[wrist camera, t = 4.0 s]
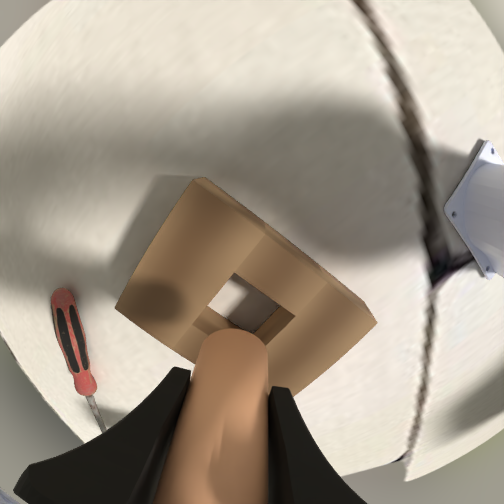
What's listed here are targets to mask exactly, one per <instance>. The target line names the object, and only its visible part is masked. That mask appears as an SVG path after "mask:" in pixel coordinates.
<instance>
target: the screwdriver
mask: <svg viewBox="0 0 504 504" xmlns="http://www.w3.org/2000/svg"><path fill="white" fill-rule="evenodd" d="M51 308H52V316H53V323H54V329H55V334H56V338H57V341H58V343H59V346H60V348H61V350H62V352H63V355H64V357H65V360H66V363H67V366H68V368H69V370H70V372H71V373H72V375H73V378H74V385H75V389H76V391H77V392H78V393H79V394H80V395H83V396H86V398H87V400H88V402H89V405H90V407H91V409H92V411H93V413H94V416H95V418H96V420H97V422H98V424H99V427H100V429H101V431H102V433H104V432H105V431H107V429H106V427H105V425H104V423H103V420H102V418H101V415H100V413H99V411H98V408H97V405H96V402H95V399H94V396H93V394H94V393H95V392H96V390H97V384H96V381H95V380H94V378H93V377H92V375H91V373H90V362H89V358H88V353H87V346H86V337H85V333H84V329H83V326H82V323H81V320H80V317H79V313H78V310H77V307H76V303H75V300H74V297H73V295H72V294H71V292H70V291H69V290H67V289H65V288H58V289H56V290H55V291H54V292H53V294H52V297H51Z"/></svg>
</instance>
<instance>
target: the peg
mask: <svg viewBox="0 0 504 504" xmlns="http://www.w3.org/2000/svg"><path fill="white" fill-rule="evenodd" d="M153 504H268V353H267V349H266V347H265V345H264V344H263V342H262V341H261V340H260V339H259V338H258V337H256V336H255V335H253V334H252V333H249V332H247V331H244V330H240V329H222V330H219V331H216V332H214V333H212V334H210V335H209V336H208V337H207V338H206V339H205V340H204V342H203V343H202V346H201V349H200V352H199V355H198V358H197V361H196V364H195V367H194V370H193V373H192V376H191V380H190V383H189V386H188V389H187V392H186V395H185V399H184V402H183V405H182V408H181V411H180V414H179V417H178V420H177V424H176V427H175V430H174V433H173V437H172V440H171V443H170V446H169V450H168V453H167V456H166V460H165V463H164V466H163V470H162V473H161V476H160V480H159V483H158V486H157V490H156V493H155V497H154V500H153Z"/></svg>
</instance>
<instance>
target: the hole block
mask: <svg viewBox="0 0 504 504" xmlns="http://www.w3.org/2000/svg"><path fill="white" fill-rule="evenodd" d="M233 273H236V274H237V275H238V276H240V277H241V278H243V279H244V280H245V281H247V282H248V283H250V284H251V285H252V286H254V287H255V288H257V289H258V290H259V291H261V292H262V293H264V294H265V295H267V296H268V297H269V298H271V299H272V300H274V301H275V302H276V303H278V304H279V305H281V306H280V307H279V308H278V309H277V310H276V311H275V312H274V313H273V314H272V315H271V316H270V317H269V318H268V319H267V320H266V321H265V322H264V323H263V324H262V325H261V327H260V328H259V329H258V330H257V331H256V332H255V333H254V334H253V335H255V336H256V337H258V338H259V339H260V340H261V341H262V342H263V344H264V345H265V347H266V349H267V353H268V396H269V394H270V391H271V388H272V386H278V387H286V388H289V389H290V391H291V393H292V396H293V397H294V396H295V395H296V394H298V393H299V392H300V391H302V390H303V389H304V388H305V387H307V386H308V385H309V384H310V383H312V382H313V381H314V380H315V379H317V378H318V377H319V376H320V375H321V374H323V373H324V372H325V371H326V370H327V369H329V368H330V367H331V366H332V365H333V364H334V363H336V362H337V361H338V360H339V359H340V358H341V357H342V356H343V355H345V354H346V353H347V352H348V351H349V350H350V349H351V348H352V347H353V346H354V345H355V344H357V343H358V342H359V341H360V340H361V339H362V338H363V337H364V336H365V335H366V334H367V333H368V332H369V331H370V330H371V329H372V328H373V327H374V326H375V325H376V324H377V321H376V320H375V318H374V316H373V315H372V313H371V312H370V310H369V309H368V307H367V305H366V304H365V302H364V301H363V300H362V299H360V298H359V297H358V296H357V295H356V294H354V293H353V292H352V291H351V290H349V289H348V288H347V287H346V286H345V285H343V284H342V283H341V282H340V281H339V280H337V279H336V278H335V277H334V276H332V275H331V274H330V273H329V272H327V271H326V270H325V269H324V268H322V267H321V266H320V265H319V264H318V263H316V262H315V261H314V260H313V259H311V258H310V257H309V256H307V255H306V254H305V253H304V252H302V251H301V250H300V249H299V248H297V247H296V246H295V245H294V244H292V243H291V242H290V241H288V240H287V239H286V238H285V237H283V236H282V235H281V234H280V233H278V232H277V231H276V230H274V229H273V228H272V227H271V226H269V225H268V224H267V223H265V222H264V221H263V220H261V219H260V218H259V217H257V216H256V215H255V214H254V213H252V212H251V211H250V210H248V209H247V208H246V207H244V206H243V205H242V204H240V203H239V202H238V201H236V200H235V199H234V198H232V197H231V196H230V195H228V194H227V193H226V192H224V191H223V190H222V189H220V188H219V187H218V186H216V185H215V184H214V183H212V182H211V181H209V180H208V179H207V178H205V177H202V178H198V179H194V180H192V181H191V183H190V184H189V186H188V187H187V189H186V190H185V191H184V193H183V194H182V196H181V197H180V199H179V200H178V202H177V203H176V205H175V206H174V208H173V209H172V211H171V212H170V214H169V215H168V217H167V218H166V220H165V222H164V223H163V225H162V226H161V228H160V229H159V231H158V233H157V234H156V236H155V237H154V239H153V241H152V242H151V244H150V246H149V247H148V249H147V251H146V252H145V254H144V256H143V257H142V259H141V261H140V262H139V264H138V266H137V268H136V269H135V271H134V273H133V275H132V276H131V278H130V280H129V282H128V284H127V285H126V287H125V289H124V291H123V293H122V295H121V296H120V298H119V300H118V302H117V304H116V306H115V309H116V310H117V311H119V312H120V313H121V314H123V315H124V316H125V317H126V318H128V319H129V320H130V321H132V322H133V323H135V324H136V325H137V326H139V327H140V328H141V329H143V330H144V331H146V332H147V333H148V334H150V335H151V336H153V337H154V338H156V339H157V340H158V341H160V342H161V343H163V344H164V345H166V346H167V347H169V348H170V349H172V350H173V351H175V352H176V353H178V354H180V355H181V356H183V357H184V358H186V359H187V360H189V361H191V362H192V363H194V364H196V361H197V358H198V355H199V352H200V349H201V346H202V343H203V342H204V340H205V339H206V338H207V337H208V336H209V335H210V334H212V333H214V332H216V331H219V330H222V329H240V330H242V329H241V328H239V327H238V326H236V325H235V324H233V323H232V322H230V321H229V320H227V319H226V318H224V317H223V316H221V315H220V314H218V313H217V312H215V311H214V310H212V309H211V308H210V307H208V306H207V305H208V304H209V303H210V302H211V300H212V299H213V298H214V297H215V295H216V294H217V293H218V292H219V291H220V289H221V288H222V287H223V286H224V284H225V283H226V282H227V281H228V279H229V278H230V277H231V276H232V275H233Z"/></svg>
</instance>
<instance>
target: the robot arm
mask: <svg viewBox="0 0 504 504" xmlns="http://www.w3.org/2000/svg"><path fill="white" fill-rule="evenodd" d="M453 212H454V215H453V217H452V213H453ZM444 213H445V215H446V216H447V217H448V219H449V220H450V222H451V223H452V224H453V226H454V227H455V229H456V230H457V232H458V233H459V235H460V236H461V238H462V239H463V241H464V242H465V244H466V245H467V247H468V248H469V250H470V252H471V253H472V255H473V256H474V258H475V260H476V261H477V263H478V265H479V266H480V268H481V270H482V272H483V273H484V275H485V277H486V278H487V279H488V280H490V279H492V278H493V276H494V275H495V273H497V274H499V275H500V276H502V277H503V278H504V164H503V162H502V160H501V158H500V156H499V155H498V153H497V151H496V149H495V148H494V146H493V144H492V143H491V141H489V140H486V141H484V143H483V145H482V147H481V149H480V150H479V152H478V154H477V156H476V157H475V159H474V161H473V162H472V164H471V166H470V167H469V169H468V171H467V172H466V174H465V176H464V177H463V179H462V180H461V182H460V183H459V185H458V187H457V188H456V190H455V191H454V193H453V194H452V196H451V197H450V199H449V200H448V202H447V203H446V204H445V206H444ZM486 267H487V268H486ZM190 376H191V370H187V369H183V368H179V367H173V368H172V369H171V370H170V371H169V373H168V374H167V375H166V377H165V378H164V379H163V380H162V381H161V383H160V384H159V385H158V386H157V387H156V388H155V389H154V390H153V391H152V392H151V393H150V394H149V395H148V396H147V397H146V398H145V399H144V400H143V401H142V402H141V403H140V404H139V405H138V406H137V407H136V408H135V409H134V410H132V411H131V412H130V413H129V414H128V415H127V416H126V417H124V418H123V419H122V420H121V421H119V422H118V423H117V424H115V425H114V426H112V427H111V428H110V429H108V430H107V431H105V432H104V433H102V434H101V435H99V436H97V437H96V438H94V439H92V440H91V441H89V442H87V443H85V444H83V445H81V446H79V447H77V448H75V449H73V450H70V451H68V452H66V453H64V454H62V455H59V456H56V457H53V458H50V459H47V460H44V461H41V462H37V463H34V464H31V465H29V466H28V467H27V469H26V470H25V471H24V472H23V474H22V475H21V477H20V478H19V480H18V482H17V484H16V486H15V488H14V489H13V491H14V493H15V494H16V495H18V496H19V497H20V498H21V499H23V500H24V501H25V502H27V503H28V504H153V500H154V497H155V493H156V490H157V486H158V483H159V480H160V476H161V473H162V470H163V466H164V463H165V460H166V456H167V453H168V450H169V446H170V443H171V440H172V437H173V433H174V430H175V427H176V424H177V420H178V417H179V414H180V411H181V408H182V405H183V402H184V399H185V395H186V392H187V389H188V386H189V383H190ZM0 504H20V503H18V502H17V501H16V500H14V499H13V498H12V497H11V496H9V495H8V494H7V493H6V492H4V490H3V489H2V488H1V487H0ZM268 504H367V503H366V502H365V501H364V500H363V499H361V498H360V497H359V496H358V495H357V494H356V493H355V492H354V491H353V490H352V489H351V488H350V487H349V486H348V485H347V484H346V483H345V482H344V481H343V479H342V478H341V477H340V476H339V475H338V474H337V472H336V471H335V470H334V469H333V467H332V466H331V465H330V463H329V462H328V461H327V459H326V458H325V456H324V455H323V453H322V452H321V450H320V449H319V447H318V446H317V444H316V442H315V441H314V439H313V437H312V435H311V434H310V432H309V430H308V428H307V426H306V424H305V422H304V420H303V418H302V416H301V414H300V412H299V410H298V408H297V405H296V403H295V401H294V398H293V396H292V393H291V391H290V389H289V388H286V387H278V386H272V388H271V391H270V394H269V396H268Z"/></svg>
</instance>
